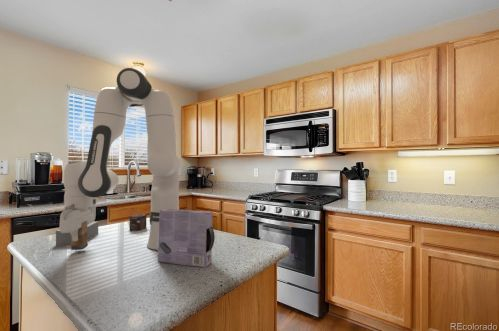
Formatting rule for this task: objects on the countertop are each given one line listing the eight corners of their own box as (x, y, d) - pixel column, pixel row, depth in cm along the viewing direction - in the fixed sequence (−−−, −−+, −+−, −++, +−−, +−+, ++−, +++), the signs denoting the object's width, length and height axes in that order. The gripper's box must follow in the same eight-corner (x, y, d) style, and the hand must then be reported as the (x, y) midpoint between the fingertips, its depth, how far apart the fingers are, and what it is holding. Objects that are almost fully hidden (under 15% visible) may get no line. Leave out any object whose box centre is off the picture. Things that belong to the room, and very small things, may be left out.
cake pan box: (215, 262, 84) (215, 210, 84) (209, 268, 79) (208, 212, 79) (165, 257, 89) (165, 208, 89) (156, 262, 84) (156, 210, 84)
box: (129, 230, 127) (128, 216, 127) (136, 227, 133) (136, 214, 133) (140, 231, 126) (139, 216, 126) (146, 228, 132) (146, 214, 132)
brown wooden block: (87, 246, 98) (87, 220, 98) (82, 249, 95) (82, 223, 94) (76, 246, 98) (75, 221, 98) (71, 250, 94) (70, 223, 94)
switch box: (98, 233, 121) (98, 221, 121) (82, 243, 105) (82, 229, 105) (75, 234, 119) (75, 222, 119) (55, 245, 104) (55, 230, 104)
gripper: (73, 206, 86) (74, 246, 86) (98, 199, 107) (99, 231, 107) (53, 207, 85) (54, 248, 85) (82, 199, 105) (83, 232, 105)
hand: (79, 238), depth 96 cm, fingers closed on brown wooden block, 4 cm apart
